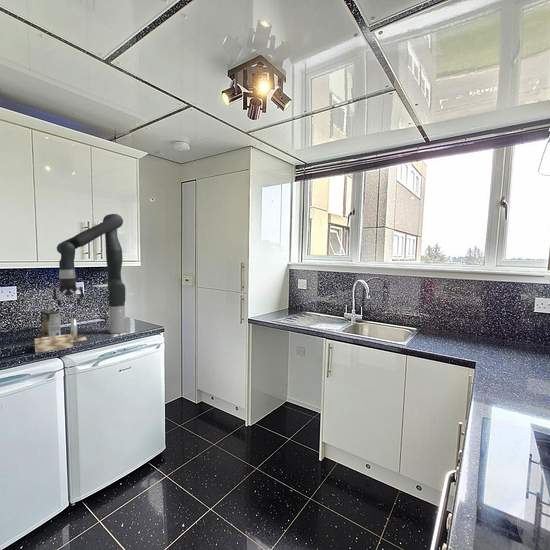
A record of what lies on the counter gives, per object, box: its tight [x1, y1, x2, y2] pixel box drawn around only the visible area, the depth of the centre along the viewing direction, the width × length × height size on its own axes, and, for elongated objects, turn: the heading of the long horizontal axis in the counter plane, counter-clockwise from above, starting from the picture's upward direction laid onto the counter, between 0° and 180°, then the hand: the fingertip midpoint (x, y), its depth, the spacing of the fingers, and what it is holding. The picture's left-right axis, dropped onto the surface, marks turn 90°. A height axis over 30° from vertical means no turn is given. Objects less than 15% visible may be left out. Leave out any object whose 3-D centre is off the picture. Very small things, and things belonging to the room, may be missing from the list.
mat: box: [73, 336, 88, 343], centre depth 176 cm, size 8×7×1 cm
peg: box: [70, 318, 78, 340], centre depth 174 cm, size 3×3×12 cm
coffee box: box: [40, 309, 62, 338], centre depth 177 cm, size 9×6×16 cm
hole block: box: [34, 333, 74, 354], centre depth 161 cm, size 16×10×5 cm, turn 130°
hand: (69, 305), depth 172 cm, fingers open, 8 cm apart
